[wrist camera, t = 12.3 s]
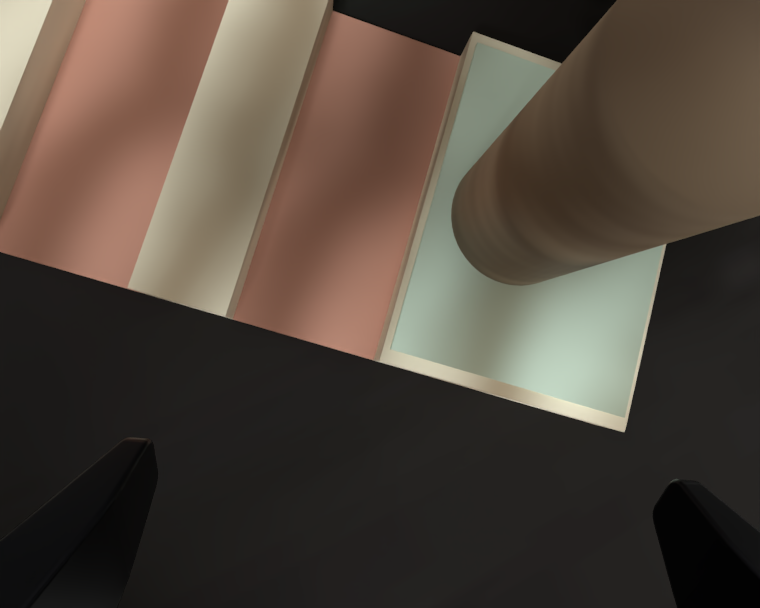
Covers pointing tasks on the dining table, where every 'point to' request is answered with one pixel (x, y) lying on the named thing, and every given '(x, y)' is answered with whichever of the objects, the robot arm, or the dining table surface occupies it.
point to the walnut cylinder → (622, 145)
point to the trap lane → (299, 188)
